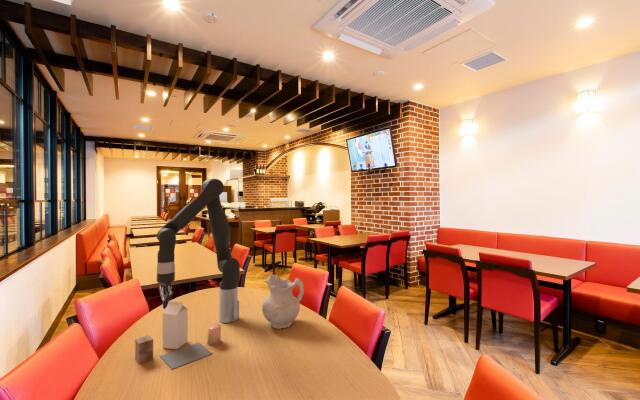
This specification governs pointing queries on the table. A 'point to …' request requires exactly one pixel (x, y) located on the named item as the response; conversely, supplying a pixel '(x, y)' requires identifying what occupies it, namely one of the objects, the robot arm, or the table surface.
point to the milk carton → (175, 325)
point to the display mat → (185, 355)
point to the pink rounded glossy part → (214, 335)
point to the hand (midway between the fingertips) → (165, 308)
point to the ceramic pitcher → (282, 302)
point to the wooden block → (143, 349)
